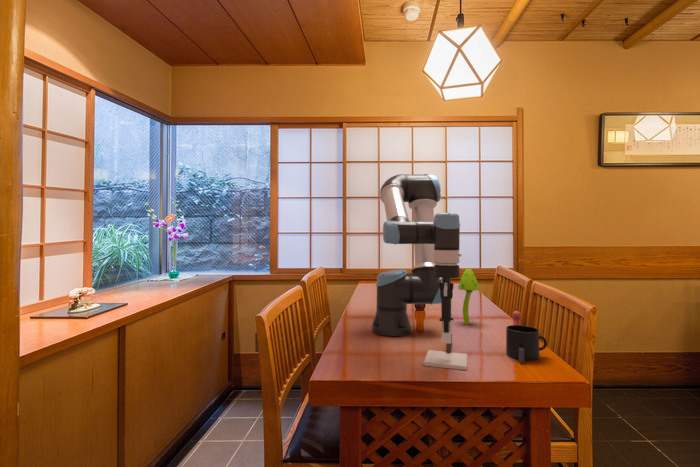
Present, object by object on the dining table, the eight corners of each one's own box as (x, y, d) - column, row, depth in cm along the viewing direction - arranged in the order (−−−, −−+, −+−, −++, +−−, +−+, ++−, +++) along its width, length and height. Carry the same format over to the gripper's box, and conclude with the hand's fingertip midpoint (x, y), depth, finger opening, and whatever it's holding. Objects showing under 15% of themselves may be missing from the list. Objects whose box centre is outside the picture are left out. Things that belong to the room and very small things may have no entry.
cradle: (446, 356, 118) (446, 314, 118) (448, 343, 132) (449, 306, 132) (527, 364, 111) (527, 320, 111) (520, 349, 125) (520, 310, 125)
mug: (552, 363, 112) (552, 333, 113) (511, 361, 114) (511, 331, 114) (541, 353, 122) (541, 325, 122) (502, 351, 124) (502, 324, 124)
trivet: (423, 365, 109) (423, 362, 109) (428, 353, 120) (428, 350, 120) (466, 370, 105) (466, 366, 105) (467, 357, 117) (467, 353, 117)
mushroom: (472, 331, 149) (472, 268, 149) (453, 327, 155) (454, 266, 155) (483, 327, 154) (483, 267, 154) (465, 323, 161) (465, 265, 161)
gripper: (458, 266, 106) (458, 349, 105) (460, 263, 118) (459, 338, 118) (431, 265, 108) (431, 347, 108) (435, 262, 120) (435, 336, 120)
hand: (446, 342), depth 113 cm, fingers closed
